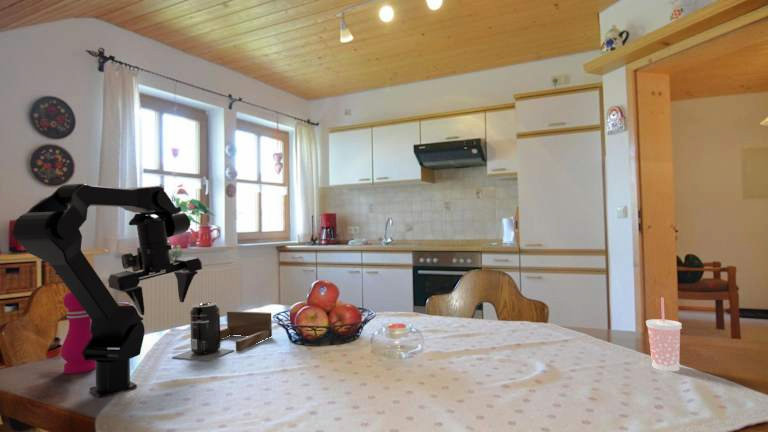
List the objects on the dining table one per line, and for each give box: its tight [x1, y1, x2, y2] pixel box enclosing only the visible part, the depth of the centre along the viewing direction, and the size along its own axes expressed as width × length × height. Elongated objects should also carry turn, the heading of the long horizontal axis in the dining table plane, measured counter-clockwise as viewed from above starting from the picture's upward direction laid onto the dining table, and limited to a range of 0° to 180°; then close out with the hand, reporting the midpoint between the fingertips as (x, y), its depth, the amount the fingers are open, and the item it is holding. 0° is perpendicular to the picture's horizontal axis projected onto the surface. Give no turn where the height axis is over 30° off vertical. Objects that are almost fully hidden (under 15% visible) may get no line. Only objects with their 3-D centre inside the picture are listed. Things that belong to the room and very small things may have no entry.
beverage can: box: [189, 301, 222, 355], centre depth 109 cm, size 7×7×12 cm
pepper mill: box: [60, 290, 96, 375], centre depth 100 cm, size 7×7×20 cm
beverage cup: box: [645, 296, 682, 372], centre depth 88 cm, size 6×6×14 cm
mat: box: [171, 348, 235, 363], centre depth 108 cm, size 9×11×1 cm
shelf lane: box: [220, 310, 273, 352], centre depth 119 cm, size 14×14×7 cm
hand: (162, 308), depth 101 cm, fingers open, 9 cm apart
